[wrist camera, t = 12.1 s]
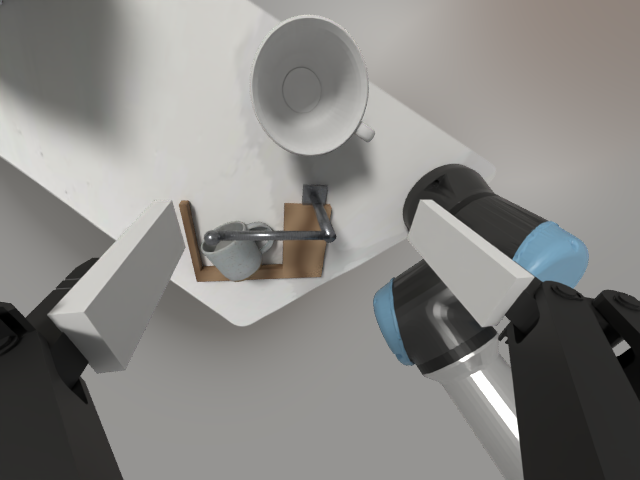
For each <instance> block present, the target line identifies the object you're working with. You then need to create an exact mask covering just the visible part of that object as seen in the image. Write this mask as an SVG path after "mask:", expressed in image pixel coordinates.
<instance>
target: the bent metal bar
mask: <svg viewBox="0 0 640 480" xmlns="http://www.w3.org/2000/svg"><path fill="white" fill-rule="evenodd" d="M326 194H327V185H306V184H303V196H302V205H312V206H313V209H314V212H315V215H316V217H317V220H318V223H319V226H320V229H321V231H214V230H211V231H208V232H207V233H206V234H205V235H204V241H205V243H206V244H208V245H210V246H215V245H217V244H219V243H220V241H263V240H325V242H328V243H331V242H333V241H334V240H335V239H336V234H335V232H334V230H333V227H332V225H331V223H330V220H329V218H328V216H327V213H326V211H325V209H324V206H325V202H326Z"/></svg>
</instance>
